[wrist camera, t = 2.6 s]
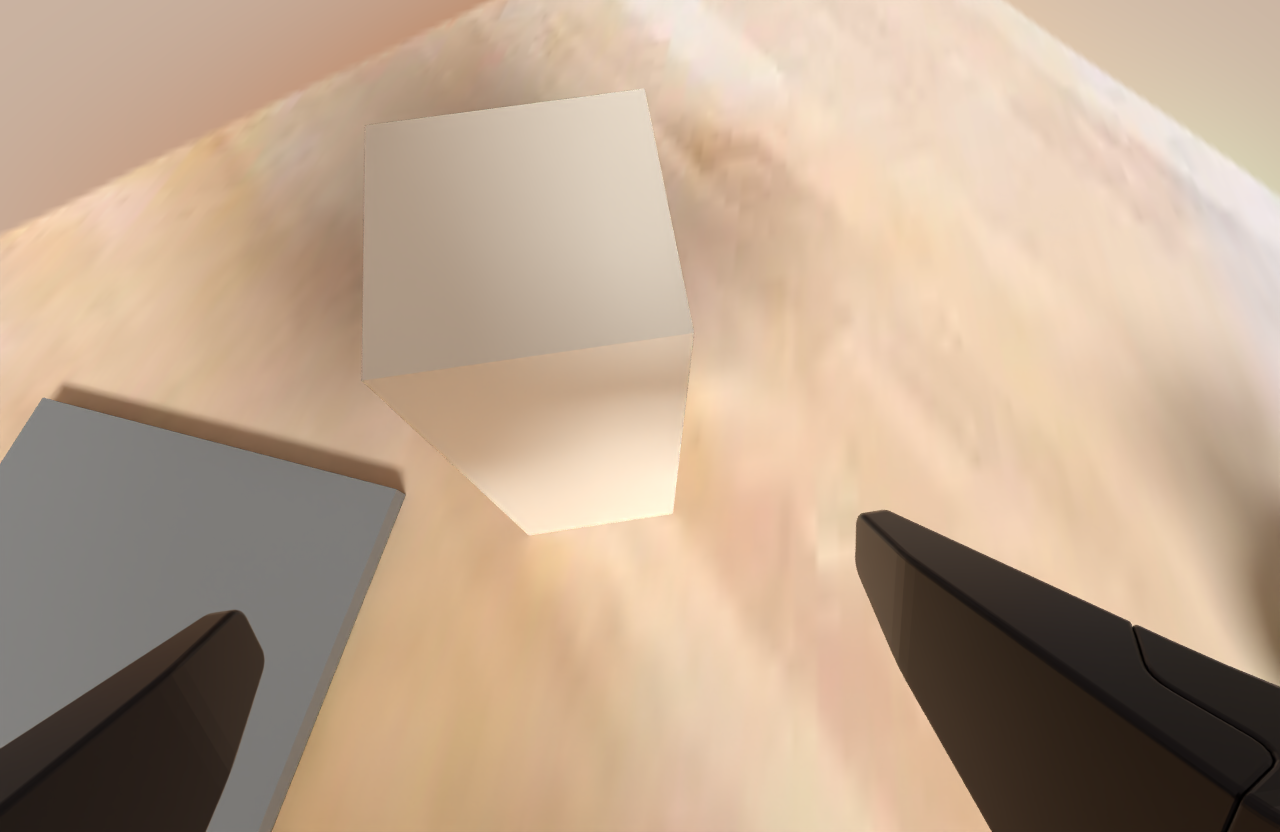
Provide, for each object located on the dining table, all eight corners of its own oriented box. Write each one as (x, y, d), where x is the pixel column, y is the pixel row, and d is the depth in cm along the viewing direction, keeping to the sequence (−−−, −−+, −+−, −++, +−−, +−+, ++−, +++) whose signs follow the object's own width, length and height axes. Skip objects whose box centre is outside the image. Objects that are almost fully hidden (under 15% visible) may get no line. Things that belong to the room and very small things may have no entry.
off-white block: (672, 513, 22) (694, 332, 9) (528, 535, 21) (362, 380, 9) (650, 382, 23) (644, 89, 11) (517, 402, 23) (365, 125, 11)
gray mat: (405, 494, 22) (396, 489, 21) (213, 975, 17) (193, 990, 16) (62, 405, 24) (43, 397, 23) (-201, 823, 19) (-236, 831, 18)
